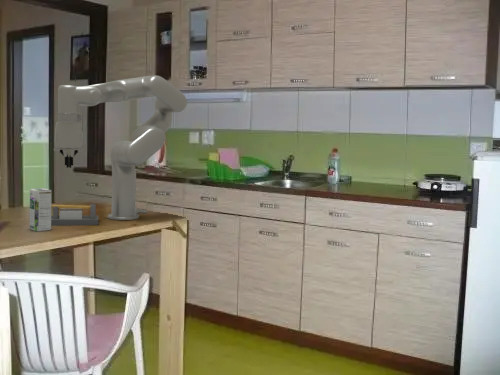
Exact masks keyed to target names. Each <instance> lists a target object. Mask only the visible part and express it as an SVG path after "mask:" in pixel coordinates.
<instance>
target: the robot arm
mask: <svg viewBox="0 0 500 375" xmlns="http://www.w3.org/2000/svg"><path fill="white" fill-rule="evenodd" d="M153 97H154V98H155V102H154V103H155V104H154V106H155V107H154V113H153V114H152V116H151V117H150V118H149V119H148V120H146V121H145V122H143V123H142V124H141V125H140V126H138V127H137V128H136V129H135V130H134V131H133V132H132V134H131V140H120V141H116V142H115V143H113V144H112V146H111V148H110V153H109V154H110V157H109V158H110V163H111V177H112V178H111V212H110V213H108V214H107V219H109V220H114V221H115V220H116V221H131V220H137V219H139V218H140V214H143V215H144V214H148V209H147V208H138V207H137V204H136V203H137V202H136V201H137V199H136V193H137V185H136V184H137V171H136V166H137V167H138V166H140V165H142V164H144V163H145V162H146V161H148V160H149V159H151V157H152V156H153V155H155V154H156V153H157V152H158V151H160V150H161V149H162V148H163V146H164V145H165V143H166V132H168V130H169V129H170V127H171V125H172V122H173V121H172V119H173V113H181V112H183V111H184V110H185V109H186V107H187V105H188V101H187V100H188V99H187V98H186V95H185V94H184V92H182V91H181V90H180V89H178V88H177V87H175V86H174V85H173V84H171V83H170V81H168V80H167V79H165V78H164V77H162V76H161V75H156V74H155V75H144V76H139V77H131V78H125V79H118V80H113V81H108V82H104V83H103V82H102V83H96V84H91V85H89V84H88V85H84V86H83V85H82V86H77V85H72V84H61V85H59V86H58V88H57V121H56V122H55V128H54V141H53V142H54V147H53V151H54V152H56V153H60V154H61V155H62V156H63V157H64V166H66V168H70V169H71V168H72V166H74V157H75V156H76V155H77V154H78V153H83V152H84V151H85V150H84V147H83V146H84V133H83V124H82V122H80V121H82V120H84V115H80V107H94V106H98V105H99V104H103V103H121V102H129V101H133V100H138V99H145V98H153ZM67 150H70V155H69V154H68V151H67Z"/></svg>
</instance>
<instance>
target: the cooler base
mask: <svg viewBox="0 0 500 375" xmlns="http://www.w3.org/2000/svg"><path fill="white" fill-rule="evenodd" d="M92 205H94V206H92ZM96 205H97V203H90V204H89V206H90V209H89V210H90V211H89V215H83V209H73V208H58V207H53V208H52V214H53V215H51V226H99V215H97V208H96V207H97V206H96ZM59 209H60V210H59Z"/></svg>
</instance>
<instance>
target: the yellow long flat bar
mask: <svg viewBox="0 0 500 375" xmlns="http://www.w3.org/2000/svg"><path fill="white" fill-rule="evenodd" d="M92 206H94V205H92ZM53 207H58V208H59V209H82V210H85V209H86V210H90V205H82V204H79V205H77V204H76V205H75V204H51V209H53Z"/></svg>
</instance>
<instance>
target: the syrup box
mask: <svg viewBox="0 0 500 375" xmlns="http://www.w3.org/2000/svg"><path fill="white" fill-rule="evenodd" d="M51 206H52V189H46V188H41V187H40V188H38V187H37V188H30V189H29V230H32V231H34V232H43V231H44V232H45V231H51V230H52V225H51V216H52V208H51Z"/></svg>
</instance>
